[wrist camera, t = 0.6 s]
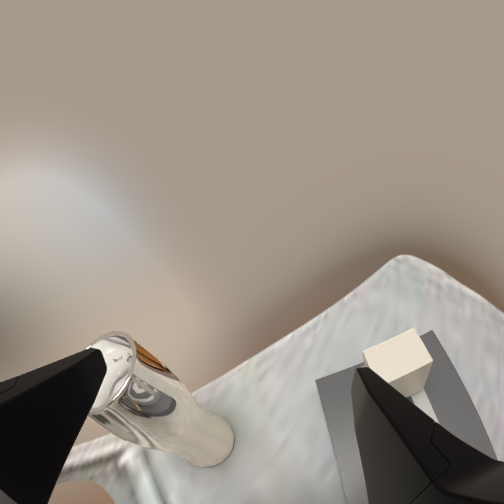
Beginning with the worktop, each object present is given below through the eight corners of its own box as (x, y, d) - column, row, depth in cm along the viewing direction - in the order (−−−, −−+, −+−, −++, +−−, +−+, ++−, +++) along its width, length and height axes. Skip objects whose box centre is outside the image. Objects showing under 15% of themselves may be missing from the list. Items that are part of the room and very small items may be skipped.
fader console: (508, 536, 3) (524, 536, 1) (369, 603, 4) (368, 615, 2) (429, 341, 23) (433, 322, 21) (318, 388, 24) (312, 374, 22)
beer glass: (169, 433, 25) (63, 361, 17) (217, 400, 27) (127, 313, 18) (195, 482, 19) (69, 432, 11) (252, 447, 21) (150, 378, 13)
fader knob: (420, 394, 17) (433, 360, 14) (376, 414, 18) (377, 387, 14) (407, 366, 20) (414, 327, 16) (365, 385, 20) (362, 350, 17)
